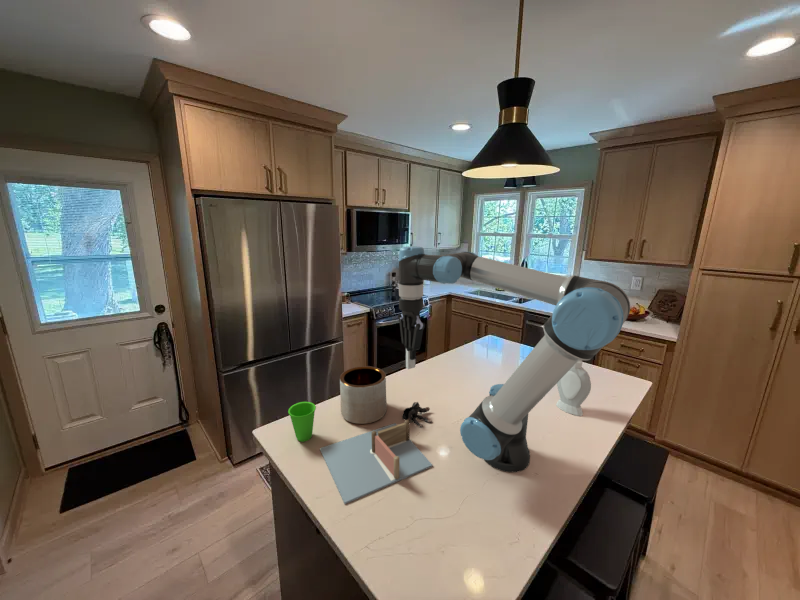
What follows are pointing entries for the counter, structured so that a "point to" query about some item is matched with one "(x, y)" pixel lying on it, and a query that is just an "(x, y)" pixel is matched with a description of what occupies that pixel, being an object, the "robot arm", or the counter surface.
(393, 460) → the hinged fence panel
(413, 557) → the counter surface
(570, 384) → the soap bottle
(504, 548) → the counter surface
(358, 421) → the planter
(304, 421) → the cup
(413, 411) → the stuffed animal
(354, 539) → the counter surface
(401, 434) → the fixed fence panel
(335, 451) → the card
